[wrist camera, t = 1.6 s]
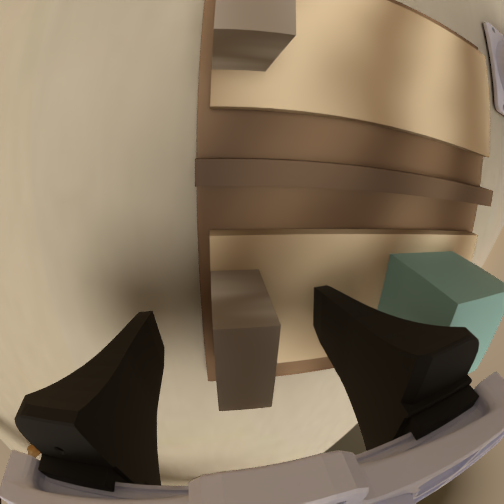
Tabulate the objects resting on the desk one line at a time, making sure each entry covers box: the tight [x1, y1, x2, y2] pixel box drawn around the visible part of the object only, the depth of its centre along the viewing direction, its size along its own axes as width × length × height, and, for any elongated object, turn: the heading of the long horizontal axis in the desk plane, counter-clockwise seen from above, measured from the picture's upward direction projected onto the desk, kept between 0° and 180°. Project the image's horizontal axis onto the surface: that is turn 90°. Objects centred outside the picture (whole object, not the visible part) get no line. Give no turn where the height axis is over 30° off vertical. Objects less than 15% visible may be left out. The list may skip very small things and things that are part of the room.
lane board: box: [195, 0, 493, 381], centre depth 12 cm, size 17×22×2 cm
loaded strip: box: [209, 229, 478, 411], centre depth 12 cm, size 16×7×5 cm, turn 89°
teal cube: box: [377, 251, 504, 373], centre depth 12 cm, size 5×5×5 cm
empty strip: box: [210, 0, 490, 157], centre depth 8 cm, size 16×7×5 cm, turn 89°
